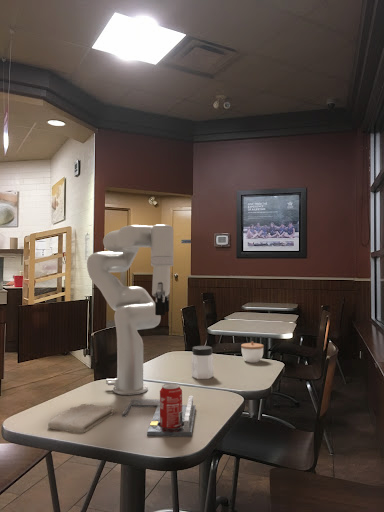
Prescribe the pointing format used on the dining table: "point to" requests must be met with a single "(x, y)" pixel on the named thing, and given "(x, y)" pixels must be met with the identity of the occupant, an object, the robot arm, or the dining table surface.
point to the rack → (186, 430)
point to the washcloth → (80, 418)
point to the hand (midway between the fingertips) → (162, 313)
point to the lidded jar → (252, 351)
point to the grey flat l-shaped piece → (141, 404)
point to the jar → (202, 362)
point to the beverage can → (171, 406)
